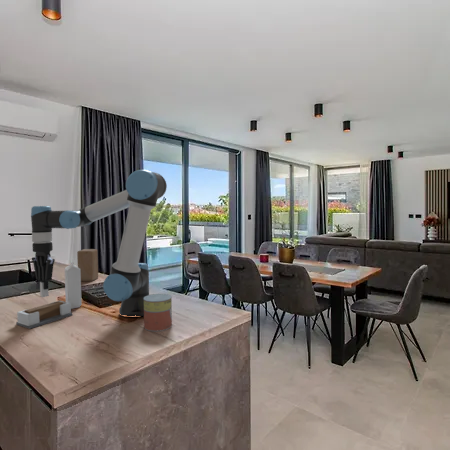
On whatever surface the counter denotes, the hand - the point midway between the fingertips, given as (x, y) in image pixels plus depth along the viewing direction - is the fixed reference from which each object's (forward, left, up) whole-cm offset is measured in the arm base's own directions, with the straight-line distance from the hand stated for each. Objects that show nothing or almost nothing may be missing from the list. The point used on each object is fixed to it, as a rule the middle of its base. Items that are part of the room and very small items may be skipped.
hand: (44, 296), depth 143 cm
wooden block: (+50, -60, -11) cm, 79 cm away
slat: (0, 0, -9) cm, 9 cm away
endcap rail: (0, 0, -10) cm, 10 cm away
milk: (+6, -18, -11) cm, 22 cm away
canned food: (-48, -18, -11) cm, 52 cm away
